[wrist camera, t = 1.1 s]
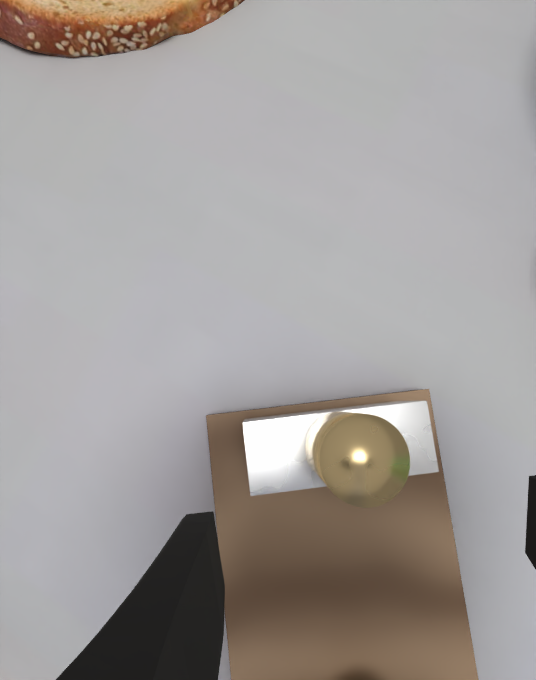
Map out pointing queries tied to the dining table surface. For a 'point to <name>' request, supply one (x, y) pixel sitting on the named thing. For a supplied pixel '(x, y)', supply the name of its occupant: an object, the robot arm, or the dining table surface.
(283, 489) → the jaw
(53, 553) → the dining table surface
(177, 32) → the bread slice
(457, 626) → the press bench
